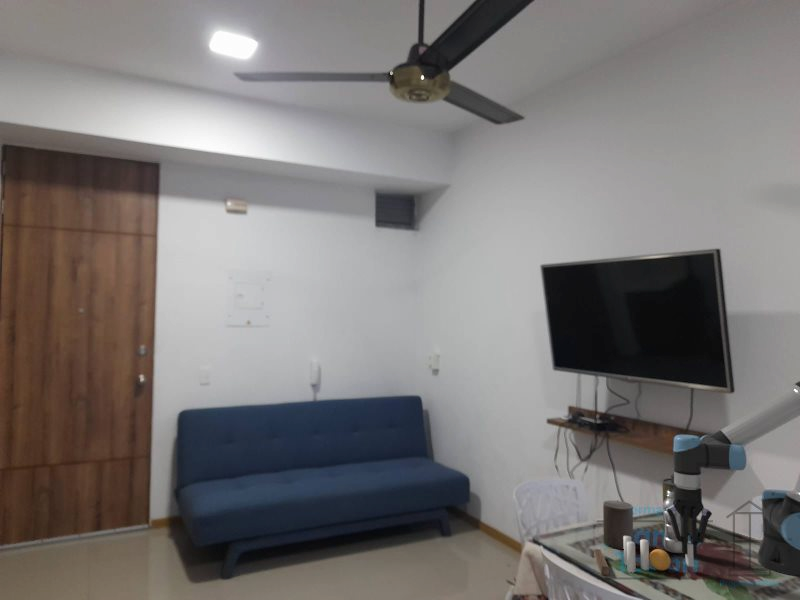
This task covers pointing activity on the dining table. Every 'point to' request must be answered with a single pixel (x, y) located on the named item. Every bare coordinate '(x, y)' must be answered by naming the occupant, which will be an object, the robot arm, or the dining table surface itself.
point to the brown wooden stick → (601, 561)
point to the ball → (659, 559)
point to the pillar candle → (617, 522)
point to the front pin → (644, 554)
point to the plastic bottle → (669, 538)
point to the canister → (667, 485)
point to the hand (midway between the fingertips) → (689, 564)
